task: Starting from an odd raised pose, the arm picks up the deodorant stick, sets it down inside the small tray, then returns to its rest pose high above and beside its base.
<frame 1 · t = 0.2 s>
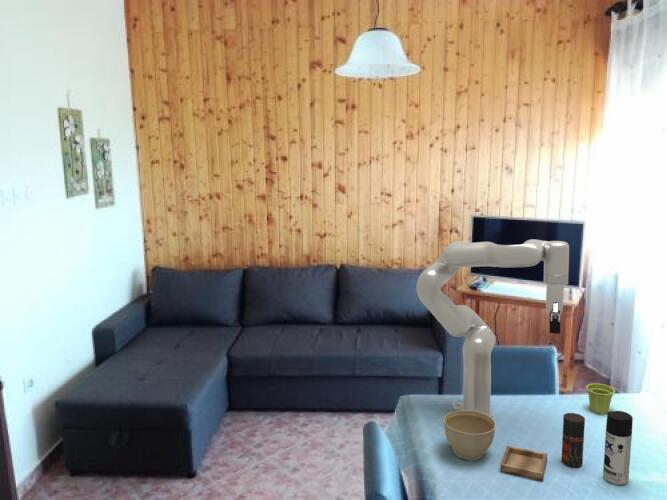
hand: (554, 328, 181), 37 cm above the table, tool pointing down, fingers open, 9 cm apart
planter bowl: (469, 453, 175), on the table
spray can: (615, 479, 158), on the table
plant pot: (599, 411, 200), on the table
deodorant: (571, 463, 167), on the table
tray: (524, 466, 166), on the table
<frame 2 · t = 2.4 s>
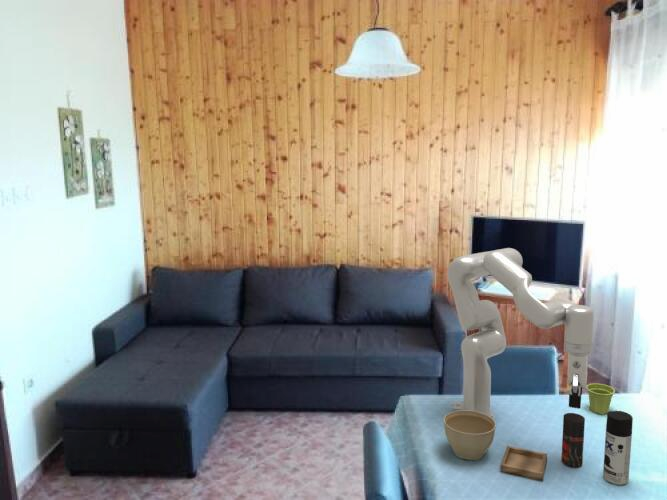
hand: (575, 400, 164), 20 cm above the table, tool pointing down, fingers open, 9 cm apart
nothing on the table moved.
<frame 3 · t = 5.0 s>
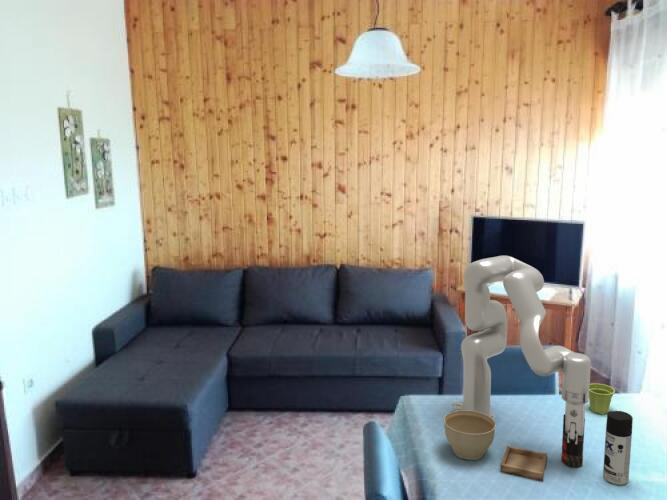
hand: (572, 449, 166), 5 cm above the table, tool pointing down, fingers closed on deodorant, 5 cm apart
deodorant: (571, 463, 167), on the table, touching gripper
everything else where it was.
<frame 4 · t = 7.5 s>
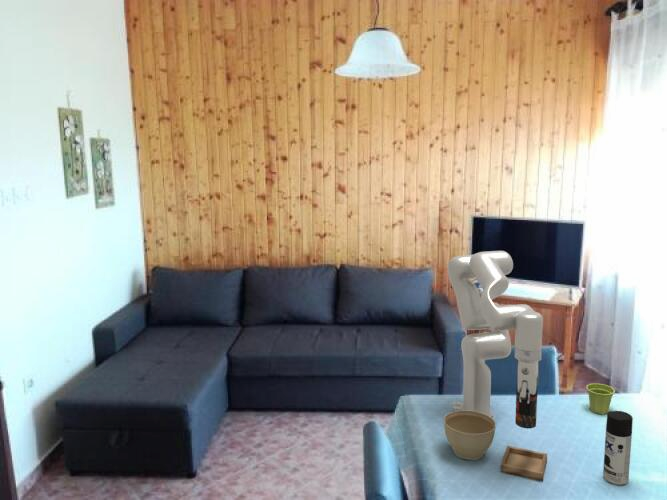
hand: (525, 409, 163), 19 cm above the table, tool pointing down, fingers closed on deodorant, 5 cm apart
deodorant: (525, 424, 164), point 14 cm above the table, touching gripper
everything else where it was.
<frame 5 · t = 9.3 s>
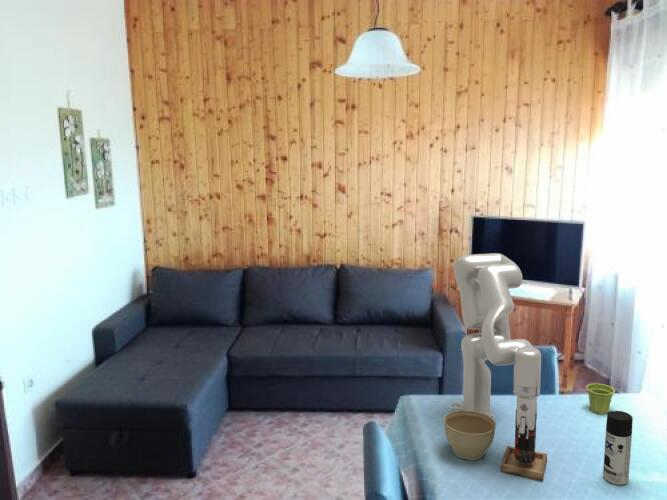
hand: (524, 443, 165), 7 cm above the table, tool pointing down, fingers closed on deodorant, 5 cm apart
deodorant: (524, 458, 165), point 3 cm above the table, touching gripper
everything else where it was.
when the fingers open (6 cm above the table, at t = 10.4 s): deodorant stays where it is, resting on tray.
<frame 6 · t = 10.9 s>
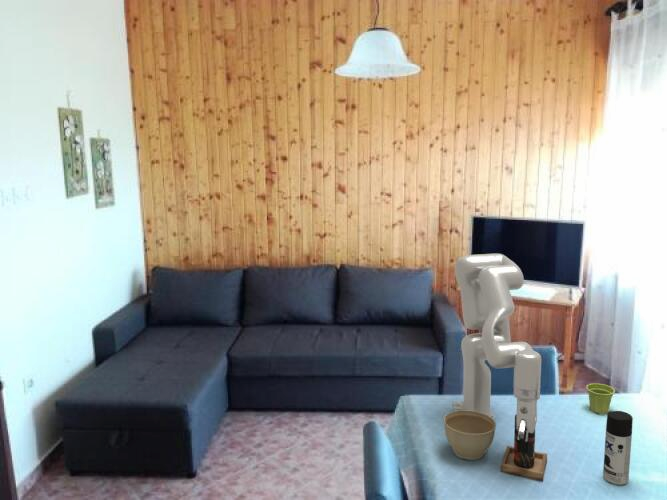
hand: (524, 444, 165), 7 cm above the table, tool pointing down, fingers open, 9 cm apart
deodorant: (523, 463, 166), point 1 cm above the table, touching tray
everything else where it was.
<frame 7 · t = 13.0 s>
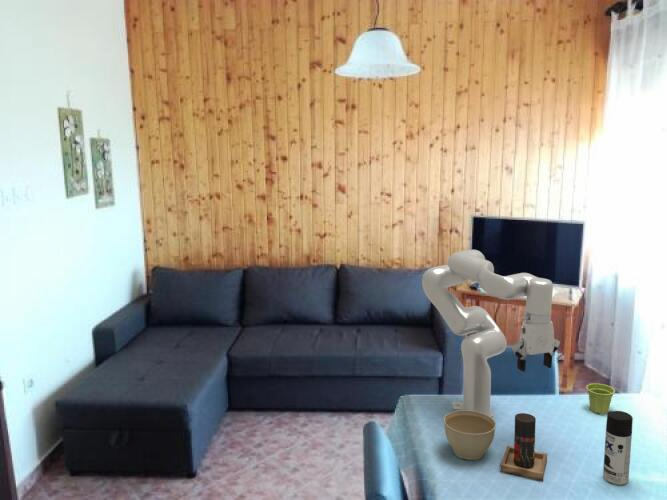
hand: (534, 368, 174), 26 cm above the table, tool pointing down, fingers open, 9 cm apart
nothing on the table moved.
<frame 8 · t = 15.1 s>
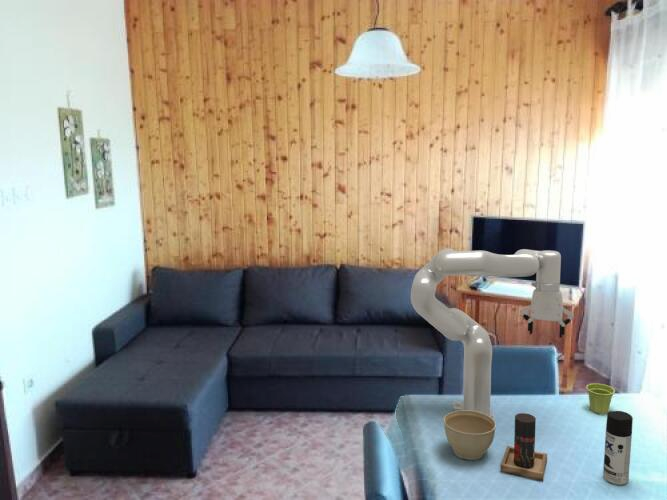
hand: (545, 334, 188), 32 cm above the table, tool pointing down, fingers open, 9 cm apart
nothing on the table moved.
at the end: deodorant inside the target area on the tray (0.2 cm from its centre), point 0.6 cm above the tray's base; deodorant tilted 0°; the gripper is holding nothing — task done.
